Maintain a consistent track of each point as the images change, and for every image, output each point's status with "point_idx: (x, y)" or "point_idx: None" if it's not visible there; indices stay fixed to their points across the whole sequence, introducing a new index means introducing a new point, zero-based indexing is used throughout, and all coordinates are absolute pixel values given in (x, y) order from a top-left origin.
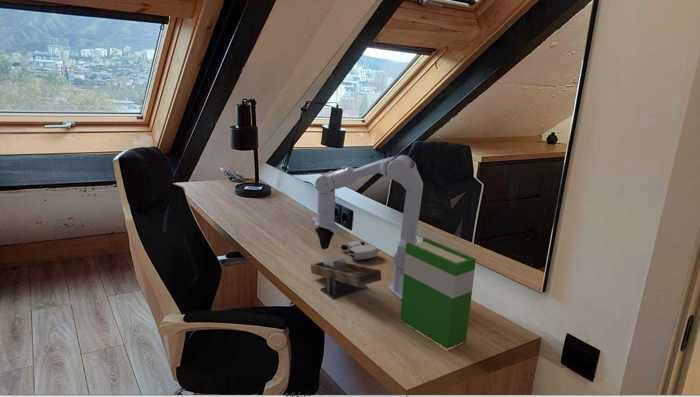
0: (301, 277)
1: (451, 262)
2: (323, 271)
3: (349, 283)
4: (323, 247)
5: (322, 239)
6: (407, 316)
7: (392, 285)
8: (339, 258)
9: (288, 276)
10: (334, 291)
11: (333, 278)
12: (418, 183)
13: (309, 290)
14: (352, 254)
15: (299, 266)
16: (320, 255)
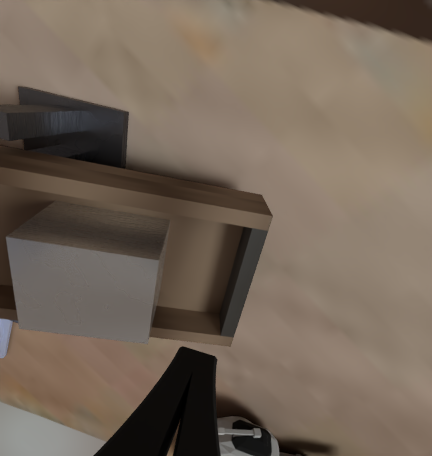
0: (312, 154)
1: None
2: (115, 178)
3: None
4: (173, 361)
5: (122, 453)
6: None
7: (5, 321)
8: (54, 312)
9: (392, 104)
10: (62, 141)
11: (12, 150)
12: None
13: (162, 64)
14: (226, 430)
15: (418, 251)
16: (398, 393)
